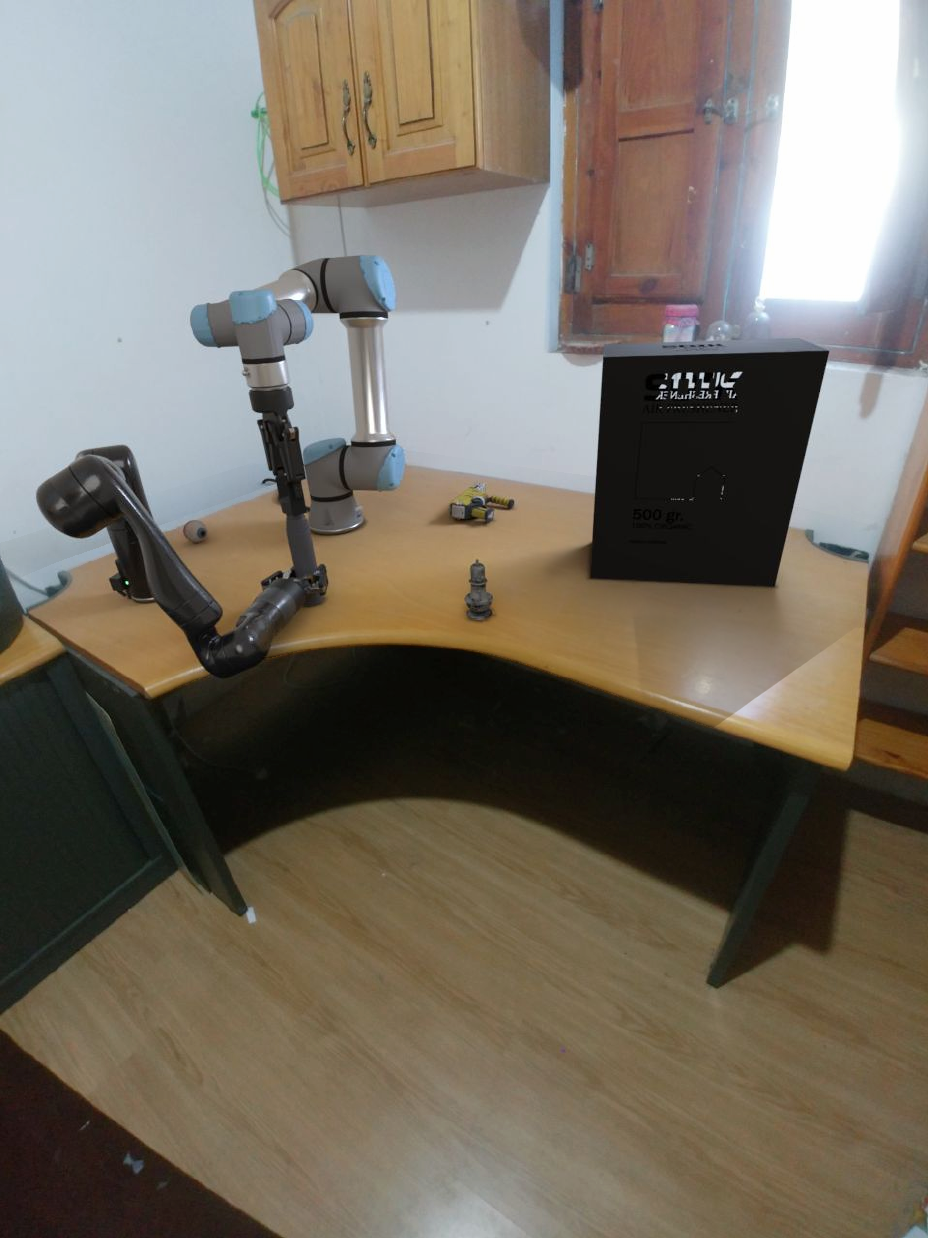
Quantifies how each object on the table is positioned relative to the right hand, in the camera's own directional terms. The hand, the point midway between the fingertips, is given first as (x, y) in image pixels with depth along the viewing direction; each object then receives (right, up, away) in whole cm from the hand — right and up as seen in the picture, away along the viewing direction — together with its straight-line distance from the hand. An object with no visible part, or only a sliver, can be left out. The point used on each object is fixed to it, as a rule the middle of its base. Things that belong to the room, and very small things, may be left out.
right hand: (294, 510), depth 120 cm
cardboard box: (+82, -9, +17) cm, 84 cm away
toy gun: (+40, +10, +54) cm, 68 cm away
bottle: (+1, -18, +10) cm, 20 cm away
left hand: (+1, -11, +9) cm, 14 cm away
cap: (0, +2, -1) cm, 2 cm away
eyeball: (-38, -1, +43) cm, 58 cm away
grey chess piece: (+37, -21, +1) cm, 42 cm away
